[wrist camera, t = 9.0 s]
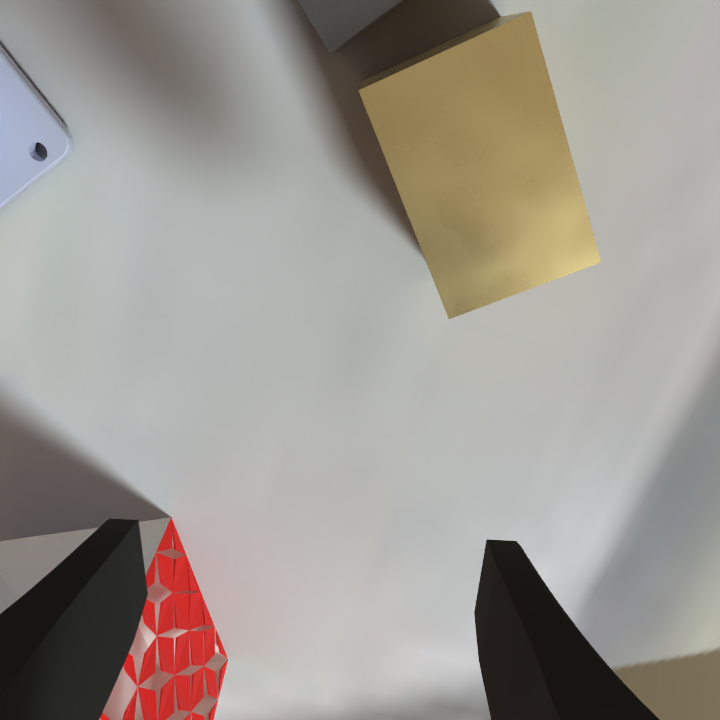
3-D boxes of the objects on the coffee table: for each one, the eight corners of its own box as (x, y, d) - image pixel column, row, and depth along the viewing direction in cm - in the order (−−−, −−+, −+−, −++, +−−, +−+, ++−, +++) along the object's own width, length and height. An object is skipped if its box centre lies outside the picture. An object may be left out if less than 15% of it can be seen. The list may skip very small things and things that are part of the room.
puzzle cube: (57, 677, 30) (-45, 880, 22) (-19, 542, 26) (-167, 730, 19) (230, 658, 29) (180, 862, 22) (173, 515, 25) (93, 702, 18)
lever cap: (436, 270, 21) (448, 318, 17) (362, 80, 18) (358, 90, 15) (561, 222, 20) (600, 262, 16) (499, 16, 18) (530, 11, 14)
